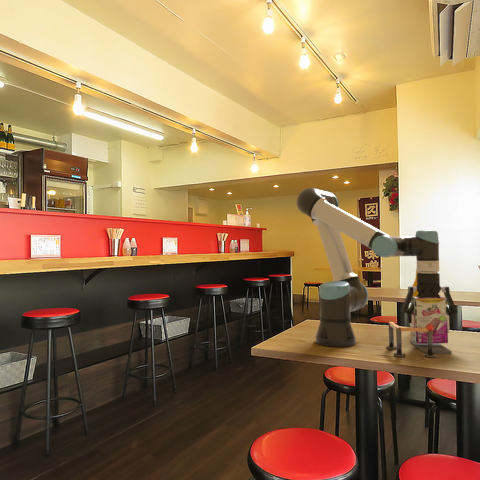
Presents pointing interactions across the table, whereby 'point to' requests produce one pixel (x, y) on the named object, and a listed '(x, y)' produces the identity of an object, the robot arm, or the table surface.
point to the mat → (436, 347)
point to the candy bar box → (430, 318)
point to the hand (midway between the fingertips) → (429, 332)
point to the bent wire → (399, 341)
